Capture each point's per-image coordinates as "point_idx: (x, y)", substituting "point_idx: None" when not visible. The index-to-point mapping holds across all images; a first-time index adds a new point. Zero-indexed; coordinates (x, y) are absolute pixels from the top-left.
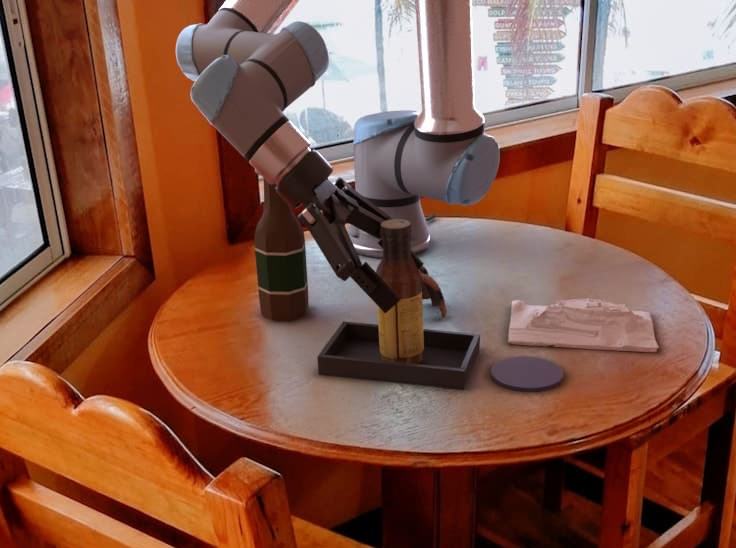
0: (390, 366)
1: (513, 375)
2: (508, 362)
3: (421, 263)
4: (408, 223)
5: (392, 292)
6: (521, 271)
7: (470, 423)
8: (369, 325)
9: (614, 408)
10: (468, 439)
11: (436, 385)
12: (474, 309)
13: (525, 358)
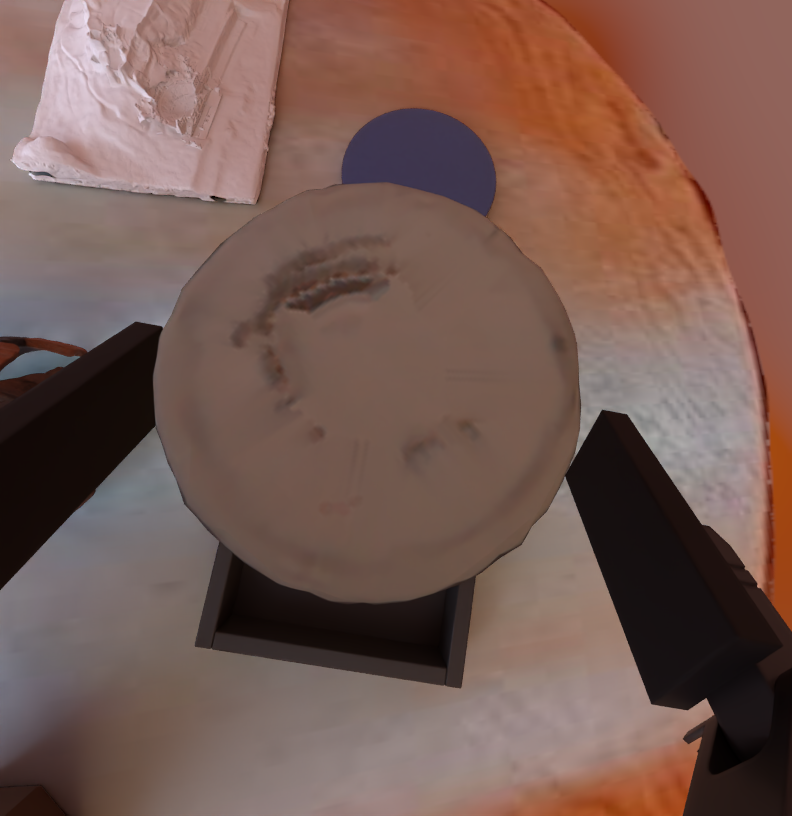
0: None
1: None
2: None
3: (150, 329)
4: (398, 201)
5: (638, 442)
6: None
7: (636, 298)
8: (230, 554)
9: (541, 50)
10: (697, 303)
11: None
12: (25, 273)
13: (354, 171)
